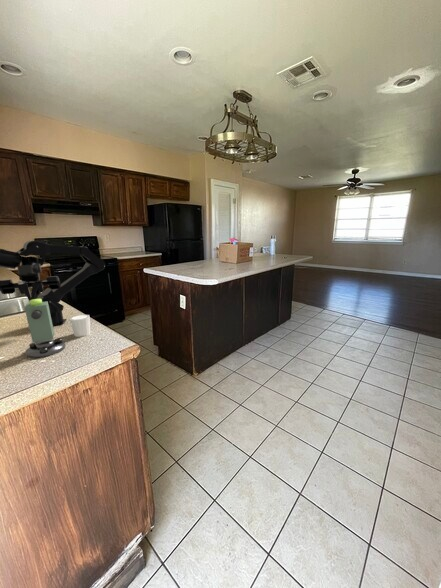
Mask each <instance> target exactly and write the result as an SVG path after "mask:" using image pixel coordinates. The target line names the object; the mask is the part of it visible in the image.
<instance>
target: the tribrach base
mask: <svg viewBox="0 0 441 588" xmlns="http://www.w3.org/2000/svg"><path fill="white" fill-rule="evenodd" d="M28 345H29V347H28V348H27V349H26V350H25V356H26V358H29V359H41V358H40V357H42V358H46V356H47V357H49V356H50V355H51V356H53V354H54V355H56V354H58V353H59V352H61V351H63V350H64V349H65V348H66V342H65V341H64V340H63V337H58V338H56V339H55V338H54V340H53V341H48V342H42V343H37V344H35V342H31V343H29V344H28Z"/></svg>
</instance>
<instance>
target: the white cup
mask: <svg viewBox="0 0 441 588" xmlns="http://www.w3.org/2000/svg"><path fill="white" fill-rule="evenodd" d="M90 318H91V317H90V314H77V315H74V316H71V317H70V318H69V322H70V325H71V329H72V332H73V335H74V337H77V338H78V337H79V338H80V337H86V336H89V335H90V334H91V320H90ZM85 335H86V336H85Z"/></svg>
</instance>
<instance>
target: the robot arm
mask: <svg viewBox="0 0 441 588" xmlns="http://www.w3.org/2000/svg"><path fill="white" fill-rule="evenodd" d="M52 254H54V255H55V254H56V255H57V254H58V255H59V254H61V255H79V256H80V257H81V258H82V259H83V260H84V262H85V264H84V265H83V267H82V268H81V269H79V271H77V272H76V273H74V274H73V275H71V276H70V277H69V278H68V279H66V280H64V281H63V282H62V283H61V281H60V278H59V276H57V275H54V276H46V277H45V278H46V279H42V280H41V276H40V275H41V273H43V270H42V266H43V265H44V263H45V262H46V260H45V259H43V258H42V257H40V256H43V255H44V256H45V255H52ZM36 256H39V257H36ZM0 268H5V269H12V270H15V269H16V268H17V274H18V276H19V277H18V279H19V280H18V281H17V282H14V281H13V280H12V278H11V279H0V293H1V294H2V295H10V294H14V293H16V289H17V290H18V291H19V292H20V294H21V295H25V296H26V298H27V299H28V302H29V301H30V300H33V299H42V302H47V301H48V305H49V310H50V315H51V320H52V325H53V326H60V325H63V324H64V323H66V321H67V318H64V315H63V311H64V306H65V305H63V304H61V303H60V302H61V300H62V299H63V297H64V296H65V295H66V294H68V293H69V292H70V291H72V290H73V289H74V288H75V287H77V286H78V285H79V284H81V283H82V282H83V281H85V280H87V278H89V277H90V276H93V275H96V274H98V273H99V272H101V271H103V270H105V268H106V261H105V260H104V259H102V258H100V257H98V255H96V254H95V253H94V252H92V251H91V250H90V249H89V248H88V247H87V246H83V245H82V246H76V245H75V246H74V245H73V246H72V245H71V246H70V245H57V244H50V243H46V242H42V241H39V240H28V241H26V242H24V243H23V246H22V247H21V248H20V249H18V250H17V251H10V250H7V249H5V248H4V249H3V248H0ZM44 286H49V287H47V288H46V289H45V290H44ZM30 288H31V290H30Z"/></svg>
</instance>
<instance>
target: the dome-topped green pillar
mask: <svg viewBox="0 0 441 588" xmlns="http://www.w3.org/2000/svg"><path fill="white" fill-rule="evenodd" d="M28 302H29V303H27V304H26V305H25V306H24V311H25V315H26V320H27V325H28V328H29V333H30V337H31V343H34V342H35V344H37V343H42V342H48V341H53V340H55V330H54V325H52V320H51V315H50V310H49V305H48V301H47V302H42V299H37V298H36V299H33V300H30V301H29V300H28Z"/></svg>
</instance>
